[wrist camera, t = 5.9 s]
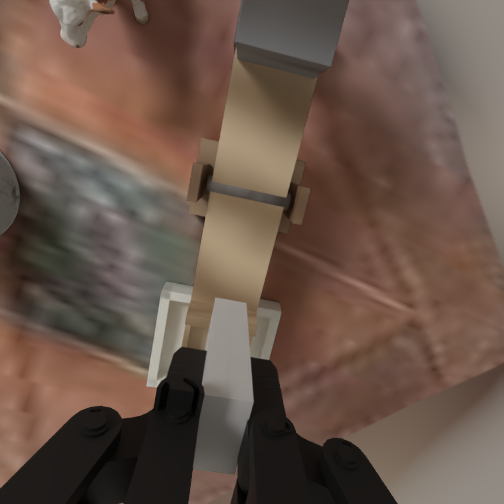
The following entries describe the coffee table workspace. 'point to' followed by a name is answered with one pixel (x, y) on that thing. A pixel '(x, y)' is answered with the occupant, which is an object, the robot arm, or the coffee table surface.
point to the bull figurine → (87, 17)
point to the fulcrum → (206, 168)
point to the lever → (259, 149)
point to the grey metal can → (8, 194)
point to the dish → (173, 327)
